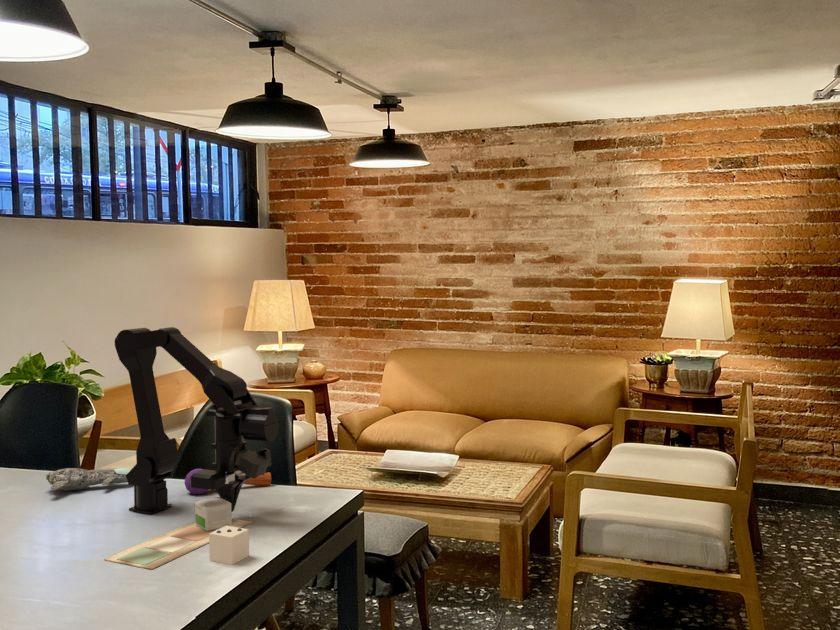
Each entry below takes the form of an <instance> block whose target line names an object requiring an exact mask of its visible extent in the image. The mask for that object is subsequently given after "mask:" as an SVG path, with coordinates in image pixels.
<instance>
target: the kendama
mask: <svg viewBox="0 0 840 630" xmlns="http://www.w3.org/2000/svg"><path fill="white" fill-rule="evenodd" d="M201 470H204V469H203V468H195V469H192V470H190V471H189V472H188V473H187V474H186V476H185V479H184V485H185V486H184V487H185V489H186V490H187V492H189V493H190V494H192V495H195V496H196V494H198V495H203V494H205V493H207V492H208V491H209V490H208V489H201V488H193V487H191V486H190V477H191V476H192V475H193V474H194V473H196V472H198V471H201ZM243 485H245V486H246V485H247V486H259V487H260V486H262V487H269V486H271V485H272V473H271V472H265V474H264V475H260V476H258V477H257V478H250V479H248V480H247V481H246V482H245V483H244V484H243Z"/></svg>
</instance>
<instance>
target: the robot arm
mask: <svg viewBox="0 0 840 630" xmlns="http://www.w3.org/2000/svg"><path fill="white" fill-rule="evenodd" d="M159 347H161V348H162V349H163V350H164V351H166V352H167V353H168V355H170V356H171V357H172V358H173V359H175V361H176V362H177V363H179V364H180V366H182V367H183V368H185V370H186V371H187V372H189V373H190V374H191V375H192V376H193V377H194V378H195V379H196V380H197V381H198V382H199V384H200V385H201V386H202V391H203V394H204V395H205V396H206V397H207V398H208V399H209V401H210V402H211V403H212V404H213V405H211V406H210V407H211V408H209V409H208V410H207V411H206V412H205V414H204V415H205V417H213V418H214V442H212V443H211V444H210V449H211V450H214V451H215V453H214V454H215V462H212V463H211V462H210V464H211V465H210V467H211V468H210V469H205V468H204V469H203V470H201V471H198V472H196V473H194V474H193V475H192V476H191V477H190V486H191V487H193V488H201V489H208V490H207V491H209V490H210V491H215V492H216V493H217V495H218V497H220V498H222V499H224V500H226V501H228V502H230V503H231V513H233V512H234V511H235V508H236V504H237V501H238V499H239V494H240V492H241V489H242V488H243V487H242V486H243V485H245V484H244V483H245V482H246V481H247V480H248V479H250V478H257V477H258V476H260V475H264V474H265V473H267V472H266V471H267V468H268V467H269V466H271V465H272V461H271V460H272V455H271V454H272V453H271V450H269V449H268V448H266V447H264V448H262V449H260V450H259V451H257V450H254V451H252V450H250V445H249V443H248V442H249V441H257V442H274V440H276V439H277V436H278V433H279V428H280V423H279V420H278V418H277V416H276V414H274V408H273V407H259V405H258V403H256V401H255V399H254V397H253V396H252V394H251V393H250V391H249V390H248V384H247V383H246V381H245V380H244V379H243V378H242V377H241V376H239V375H237V374H236V373H234V372H232V371H230V370H227V369H225V368H222V367H220V366H218V365H217V364H216V363H215V362H213V361H212V360H211V359H210V358H209V357H208V356H207V355H205V354H204V353H203V352H202V351H201V350H200V349H198V347H197V346H196V345H194V344H193V343H192V342H191V341H190V340H189V339H187V338H186V337H185V336H184V335H183V334H182V333H181V331H180V329H178V328H176V327H174V326H170V327H168V326H167V327H161V328H158V329H155V330H151V329H149V328H147V327H139V328H130V329H129V328H128V329H127V328H126V329H123V330H121V331H119V332H118V333H117V335H116V337H115V338H114V348H115V350H116V354H117V357H118V360H119V362H120V363H121V364H122V365H123V366H124V368H125V369H126V370H127V372H128V377H129V380H130V385H131V392H132V396H133V402H134V403H133V404H134V408H135V413H136V419H137V424H138V431H139V438H140V439H139V441H138V445H137V447H136V451H135V453H136V454H135V455H136V456H135V457H136V460H135V461H136V464H135V465H134V466H133V467H132V468H130V469H131V470H130V472H129V473H128V474H127V475H126V478H127V481H128V482H127V483H128V485H129V486H133V499H134V501H133V503H134V504H133V505H134V506H131V507H129V508H128V510H129V512H136V513H142V514H147V515H153V514H156V513H159V512H162V511H163V510H167V509H169V508H172V505H173V504H171V503H169V502H168V501H169V500H168V495H169V494H168V492H169V491H168V488H167V480H166V479H169V478H172V474H173V471H174V470H175V469H176V466H177V465H178V461H179V458H178V457H180V453H179V450H178V443H177V442H178V441H177V439H176V438H175V437H173V438H170V437H169V436H168V435H167V434H166V432H165V428H164V424H163V423H164V422H163V418H162V412H161V407H160V402H159V396H158V393H157V392H158V391H157V386H156V380H155V375H154V370H153V369H154V363H155V360H156V357H157V348H159ZM245 440H247V441H245ZM248 440H249V441H248ZM214 469H215V470H214Z"/></svg>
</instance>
